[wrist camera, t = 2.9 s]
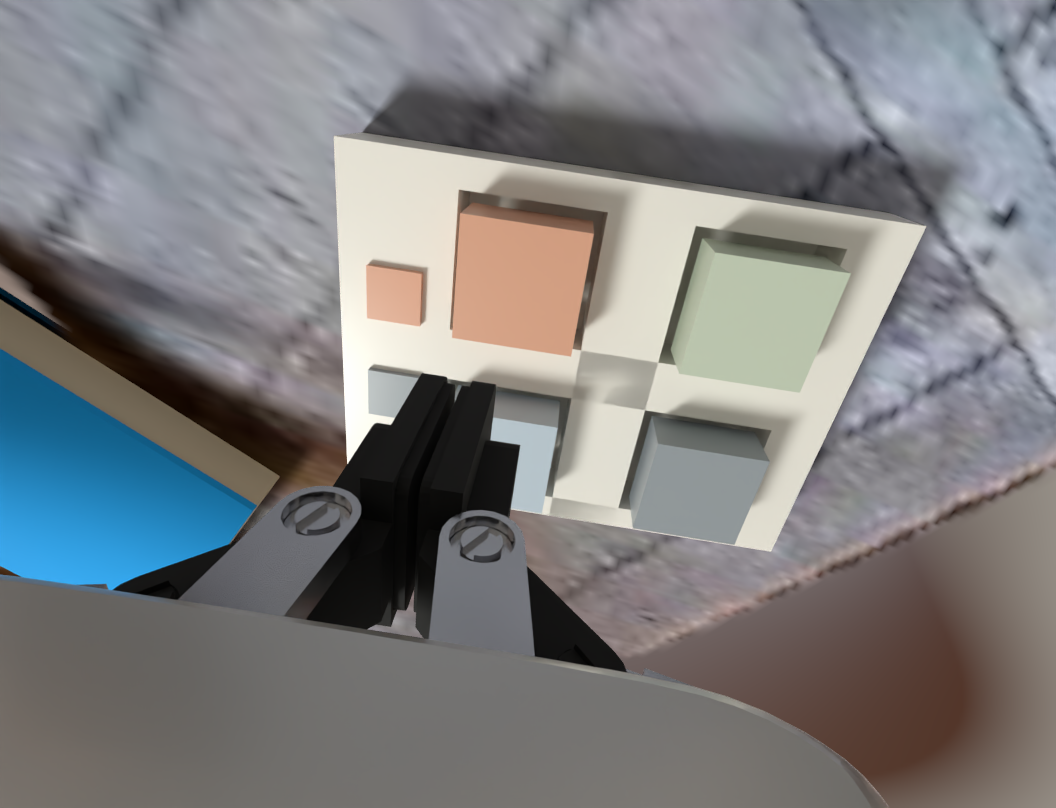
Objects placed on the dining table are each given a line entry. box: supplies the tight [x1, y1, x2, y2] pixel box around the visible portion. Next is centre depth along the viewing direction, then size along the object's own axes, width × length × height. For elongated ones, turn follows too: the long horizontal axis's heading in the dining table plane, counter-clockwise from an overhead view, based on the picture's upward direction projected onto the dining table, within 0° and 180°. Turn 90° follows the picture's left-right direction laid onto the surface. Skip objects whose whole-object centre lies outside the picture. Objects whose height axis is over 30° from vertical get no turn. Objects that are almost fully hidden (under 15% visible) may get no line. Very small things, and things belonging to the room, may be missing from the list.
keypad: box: [334, 132, 926, 552], centre depth 26 cm, size 23×17×3 cm
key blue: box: [454, 385, 560, 514], centre depth 26 cm, size 5×5×2 cm
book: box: [0, 287, 280, 590], centre depth 33 cm, size 17×4×25 cm
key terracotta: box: [452, 203, 594, 357], centre depth 22 cm, size 5×5×2 cm
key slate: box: [629, 416, 770, 545], centre depth 26 cm, size 5×5×2 cm
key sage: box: [671, 238, 851, 393], centre depth 22 cm, size 5×5×2 cm
